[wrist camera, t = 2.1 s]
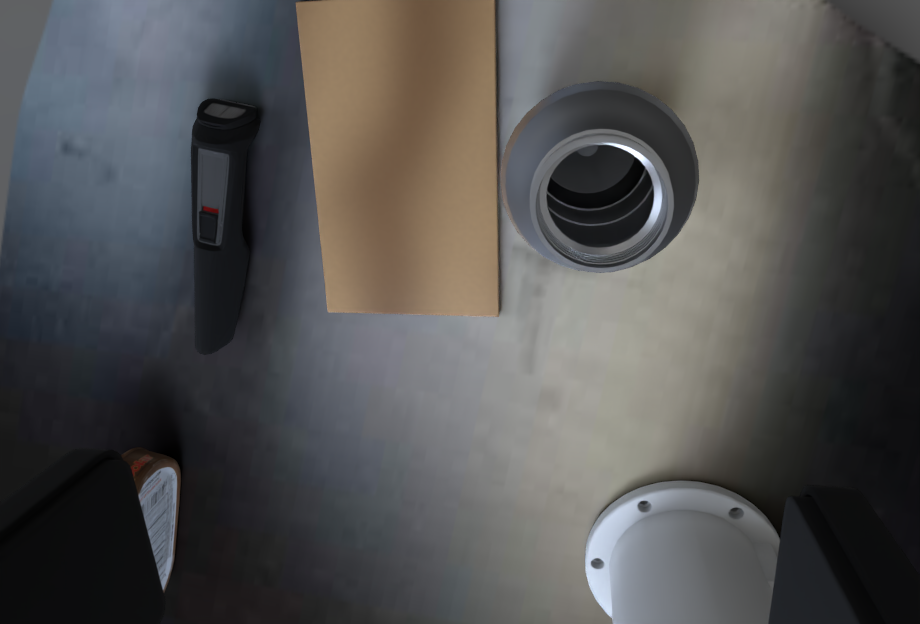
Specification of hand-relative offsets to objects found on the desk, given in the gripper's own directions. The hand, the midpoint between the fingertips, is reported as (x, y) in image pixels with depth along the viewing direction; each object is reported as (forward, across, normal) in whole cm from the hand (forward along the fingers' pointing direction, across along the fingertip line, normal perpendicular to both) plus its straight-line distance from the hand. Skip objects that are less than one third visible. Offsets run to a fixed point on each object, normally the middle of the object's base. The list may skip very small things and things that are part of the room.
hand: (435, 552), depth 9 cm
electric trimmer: (+30, +19, +1) cm, 36 cm away
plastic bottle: (+30, -3, -3) cm, 30 cm away
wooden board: (+30, +8, -2) cm, 31 cm away
